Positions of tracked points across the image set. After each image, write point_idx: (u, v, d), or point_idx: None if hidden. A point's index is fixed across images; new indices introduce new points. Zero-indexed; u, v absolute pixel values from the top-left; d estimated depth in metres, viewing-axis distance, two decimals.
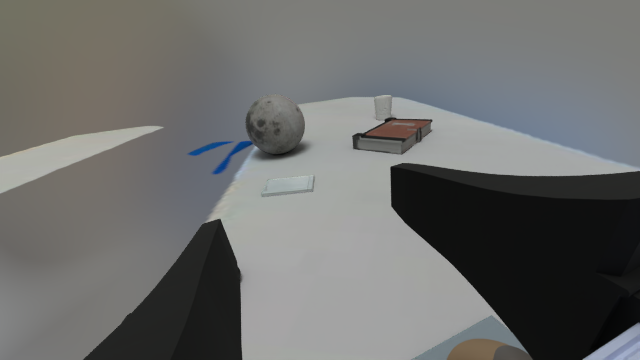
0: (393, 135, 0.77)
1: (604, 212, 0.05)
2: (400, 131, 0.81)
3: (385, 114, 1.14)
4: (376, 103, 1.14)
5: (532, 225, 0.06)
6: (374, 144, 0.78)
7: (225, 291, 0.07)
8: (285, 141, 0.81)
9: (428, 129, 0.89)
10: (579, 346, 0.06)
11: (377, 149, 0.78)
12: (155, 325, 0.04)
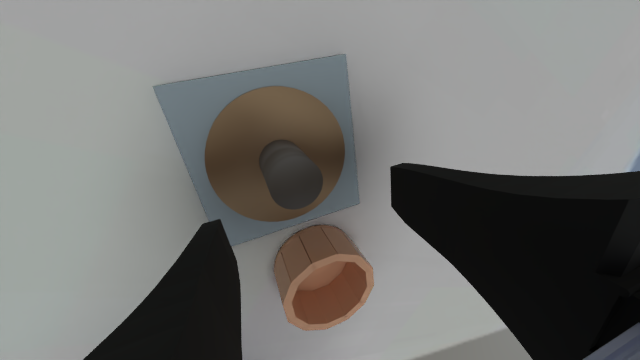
0: None
1: (604, 212, 0.05)
2: None
3: None
4: None
5: (532, 225, 0.06)
6: None
7: (225, 291, 0.07)
8: None
9: None
10: (579, 346, 0.06)
11: None
12: (155, 325, 0.04)
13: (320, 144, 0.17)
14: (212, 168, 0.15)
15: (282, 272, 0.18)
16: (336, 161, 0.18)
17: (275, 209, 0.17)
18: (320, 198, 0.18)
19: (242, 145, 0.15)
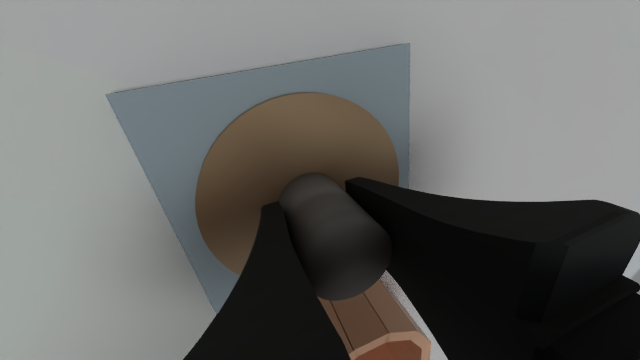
0: None
1: (517, 253, 0.04)
2: None
3: None
4: None
5: (458, 258, 0.05)
6: None
7: None
8: None
9: None
10: None
11: None
12: (276, 279, 0.05)
13: (366, 176, 0.11)
14: (207, 221, 0.10)
15: None
16: None
17: None
18: None
19: (254, 184, 0.10)
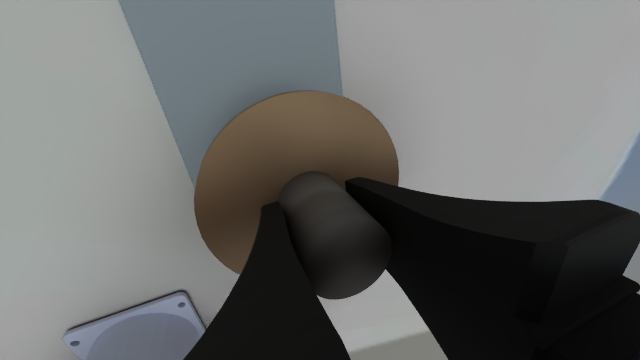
0: None
1: (517, 253, 0.04)
2: None
3: None
4: None
5: (459, 257, 0.05)
6: None
7: None
8: None
9: None
10: None
11: None
12: (276, 279, 0.05)
13: (366, 175, 0.11)
14: (206, 220, 0.10)
15: None
16: None
17: None
18: None
19: (253, 183, 0.10)
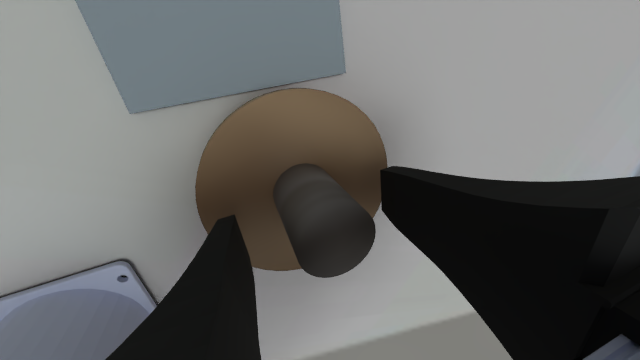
0: None
1: (585, 221, 0.04)
2: None
3: None
4: None
5: (516, 232, 0.06)
6: None
7: (243, 284, 0.07)
8: None
9: None
10: (563, 356, 0.05)
11: None
12: (186, 313, 0.04)
13: (356, 167, 0.12)
14: (207, 208, 0.10)
15: None
16: (376, 188, 0.13)
17: (294, 254, 0.13)
18: None
19: (250, 174, 0.10)
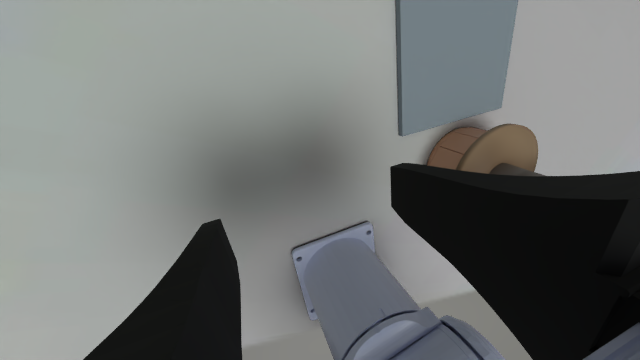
0: None
1: (604, 212, 0.05)
2: None
3: None
4: None
5: (532, 225, 0.06)
6: None
7: (225, 291, 0.07)
8: None
9: None
10: (579, 346, 0.06)
11: None
12: (155, 325, 0.04)
13: (523, 165, 0.22)
14: None
15: (449, 158, 0.22)
16: None
17: None
18: None
19: (481, 168, 0.20)
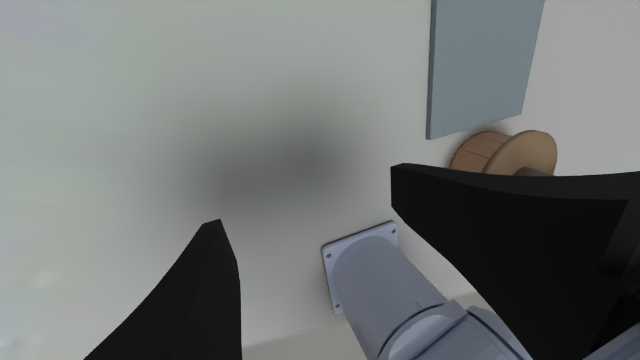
0: None
1: (604, 212, 0.05)
2: None
3: None
4: None
5: (532, 225, 0.06)
6: None
7: (225, 291, 0.07)
8: None
9: None
10: (579, 346, 0.06)
11: None
12: (155, 325, 0.04)
13: (542, 169, 0.23)
14: None
15: (473, 161, 0.23)
16: None
17: None
18: None
19: (505, 172, 0.21)
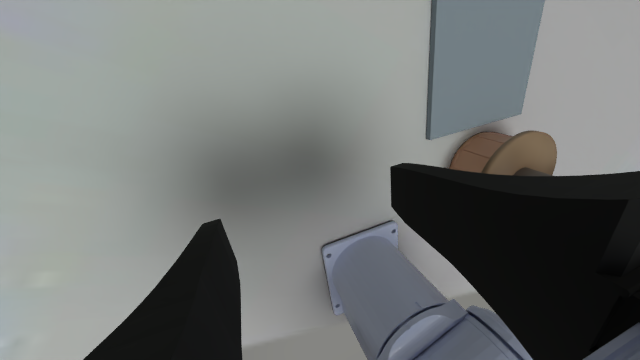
0: None
1: (604, 212, 0.05)
2: None
3: None
4: None
5: (532, 225, 0.06)
6: None
7: (225, 291, 0.07)
8: None
9: None
10: (579, 346, 0.06)
11: None
12: (155, 325, 0.04)
13: (542, 169, 0.23)
14: None
15: (473, 161, 0.23)
16: None
17: None
18: None
19: (505, 172, 0.21)
